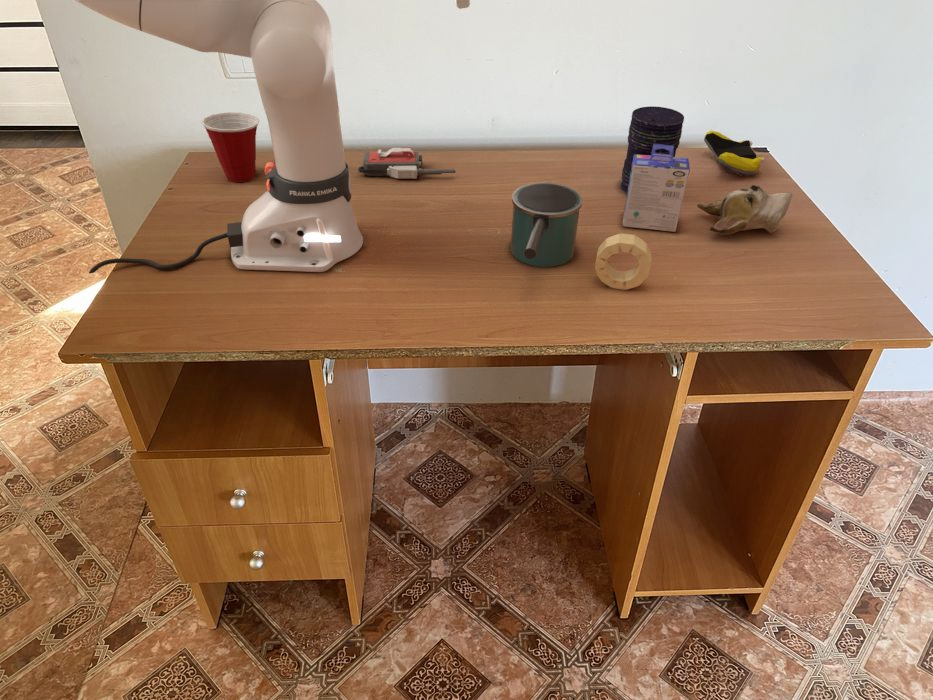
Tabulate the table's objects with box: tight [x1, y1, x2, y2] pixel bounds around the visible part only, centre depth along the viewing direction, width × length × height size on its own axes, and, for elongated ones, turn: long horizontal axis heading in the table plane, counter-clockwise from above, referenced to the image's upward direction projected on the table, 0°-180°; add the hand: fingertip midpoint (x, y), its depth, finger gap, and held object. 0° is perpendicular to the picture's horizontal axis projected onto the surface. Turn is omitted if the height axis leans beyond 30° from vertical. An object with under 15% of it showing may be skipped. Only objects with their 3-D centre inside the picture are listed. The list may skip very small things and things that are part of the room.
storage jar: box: [619, 106, 685, 195], centre depth 134 cm, size 10×10×15 cm
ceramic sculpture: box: [696, 184, 793, 236], centre depth 123 cm, size 11×9×15 cm
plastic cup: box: [201, 111, 260, 183], centre depth 138 cm, size 11×11×12 cm
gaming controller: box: [703, 130, 765, 178], centre depth 145 cm, size 15×6×10 cm
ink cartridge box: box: [621, 144, 691, 233], centre depth 123 cm, size 10×6×14 cm, turn 78°
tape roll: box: [594, 232, 653, 291], centre depth 108 cm, size 8×3×8 cm, turn 76°
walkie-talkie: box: [357, 147, 456, 180], centre depth 142 cm, size 9×4×20 cm
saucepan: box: [510, 182, 583, 268], centre depth 112 cm, size 22×12×10 cm, turn 166°
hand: (457, 1), depth 97 cm, fingers open, 8 cm apart
